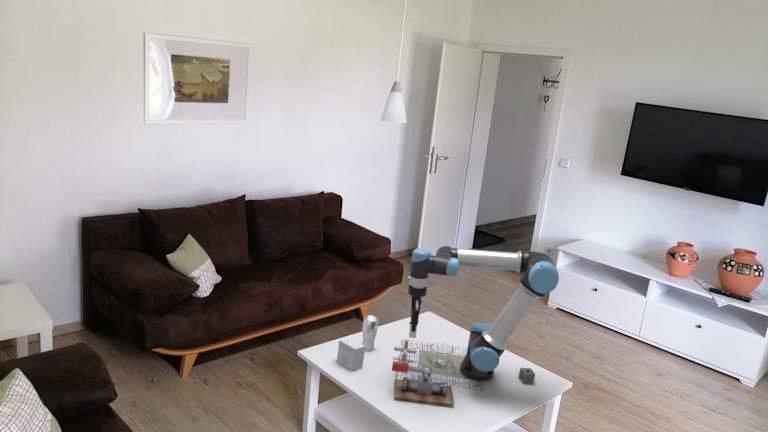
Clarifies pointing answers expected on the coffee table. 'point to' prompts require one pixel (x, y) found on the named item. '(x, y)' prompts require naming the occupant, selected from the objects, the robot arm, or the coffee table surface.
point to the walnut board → (422, 396)
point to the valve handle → (411, 368)
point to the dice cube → (526, 375)
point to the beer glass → (369, 332)
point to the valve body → (424, 386)
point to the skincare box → (350, 353)
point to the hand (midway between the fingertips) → (412, 336)
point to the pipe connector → (405, 349)
